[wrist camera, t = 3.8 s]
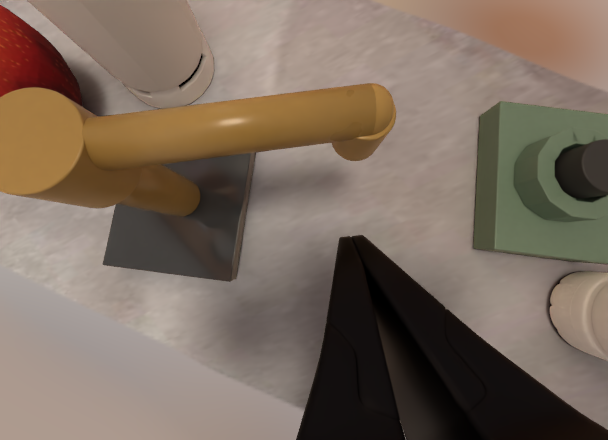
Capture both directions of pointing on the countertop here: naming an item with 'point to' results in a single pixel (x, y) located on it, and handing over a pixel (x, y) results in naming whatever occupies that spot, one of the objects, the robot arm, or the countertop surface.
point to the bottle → (140, 44)
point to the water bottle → (582, 311)
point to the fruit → (32, 60)
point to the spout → (171, 137)
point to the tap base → (184, 218)
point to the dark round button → (584, 170)
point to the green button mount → (536, 185)
